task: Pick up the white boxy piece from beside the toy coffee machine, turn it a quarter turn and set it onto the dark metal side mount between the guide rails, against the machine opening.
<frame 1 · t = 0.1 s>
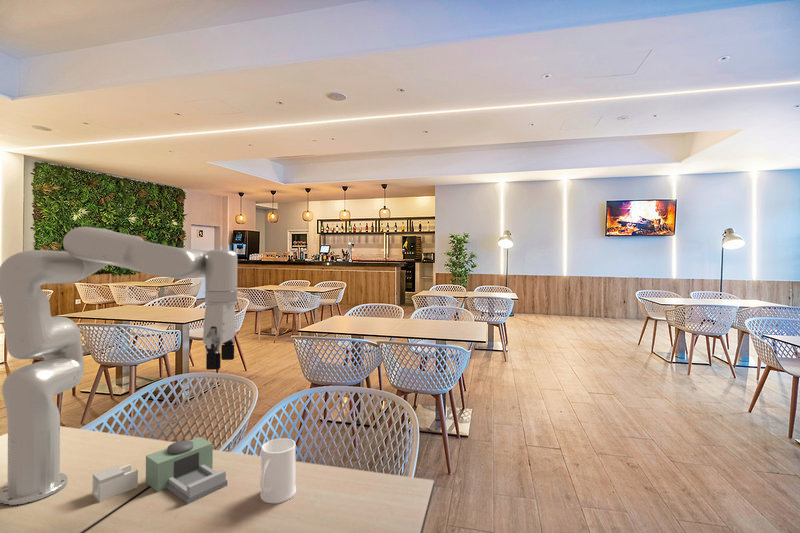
hand: (220, 364, 100), 31 cm above the table, tool pointing down, fingers open, 9 cm apart
toy coffee machine: (190, 482, 102), on the table
mug: (274, 497, 95), on the table
white boxy piece: (115, 491, 98), on the table
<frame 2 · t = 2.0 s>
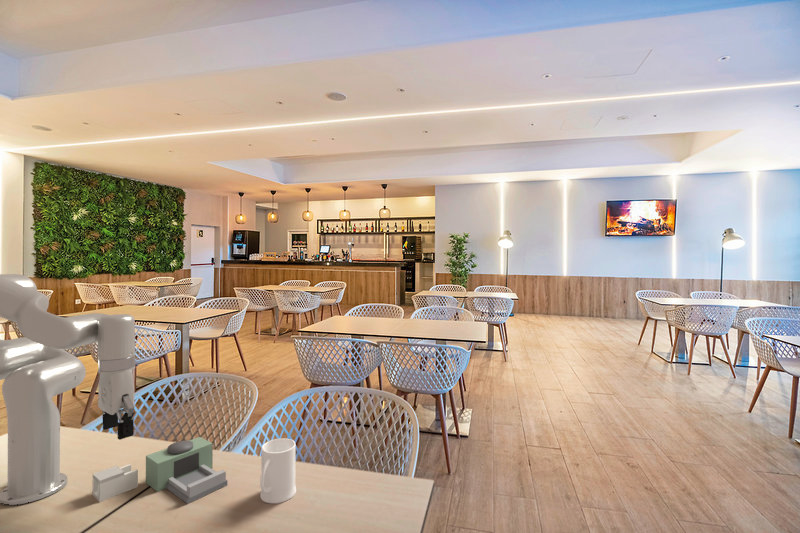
hand: (117, 432, 97), 15 cm above the table, tool pointing down, fingers open, 9 cm apart
nothing on the table moved.
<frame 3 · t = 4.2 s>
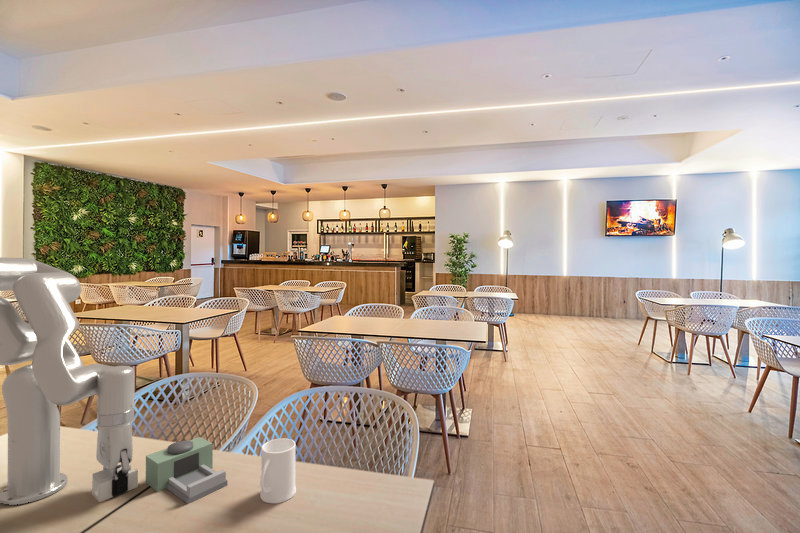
hand: (115, 488, 97), 0 cm above the table, tool pointing down, fingers closed on white boxy piece, 5 cm apart
white boxy piece: (115, 490, 97), on the table, touching gripper
everything else where it was.
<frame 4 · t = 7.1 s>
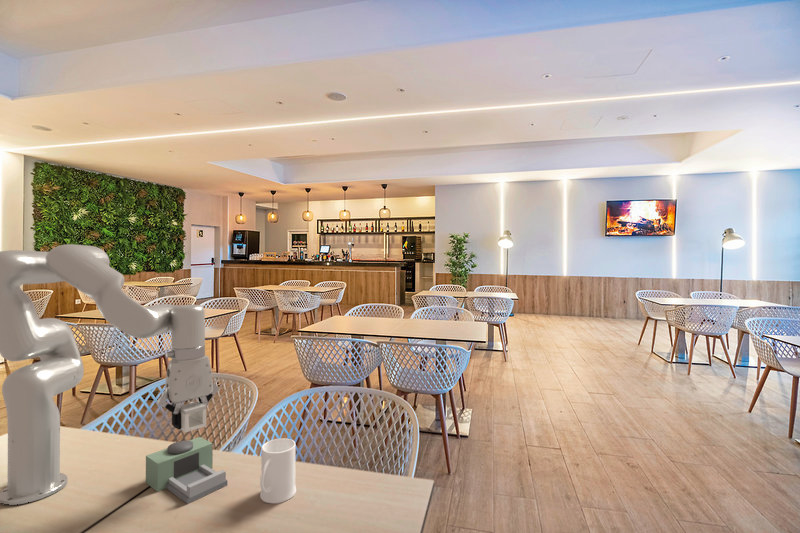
hand: (189, 423, 100), 16 cm above the table, tool pointing down, fingers closed on white boxy piece, 4 cm apart
white boxy piece: (189, 425, 100), point 16 cm above the table, touching gripper
everything else where it was.
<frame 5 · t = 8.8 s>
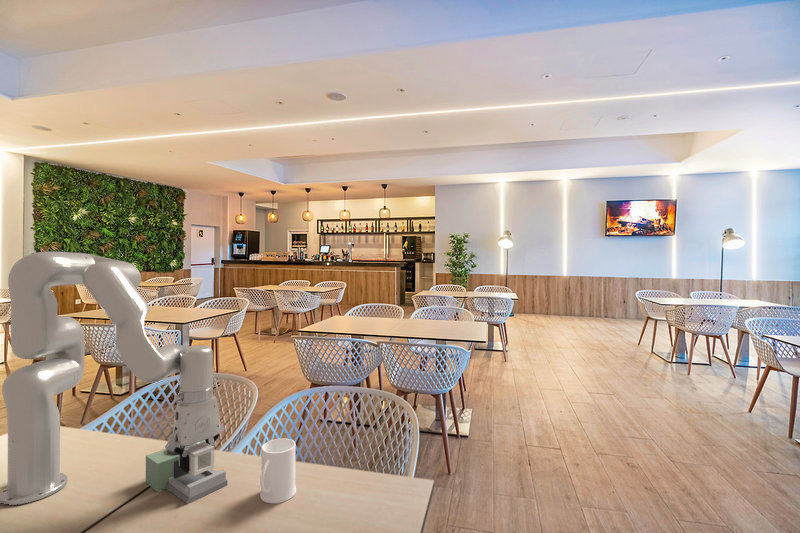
hand: (196, 464, 100), 5 cm above the table, tool pointing down, fingers closed on white boxy piece, 4 cm apart
white boxy piece: (196, 466, 100), point 5 cm above the table, touching gripper
everything else where it was.
when the fingers open (3 cm above the table, at t = 10.0 s): white boxy piece drops 1 cm, resting on toy coffee machine.
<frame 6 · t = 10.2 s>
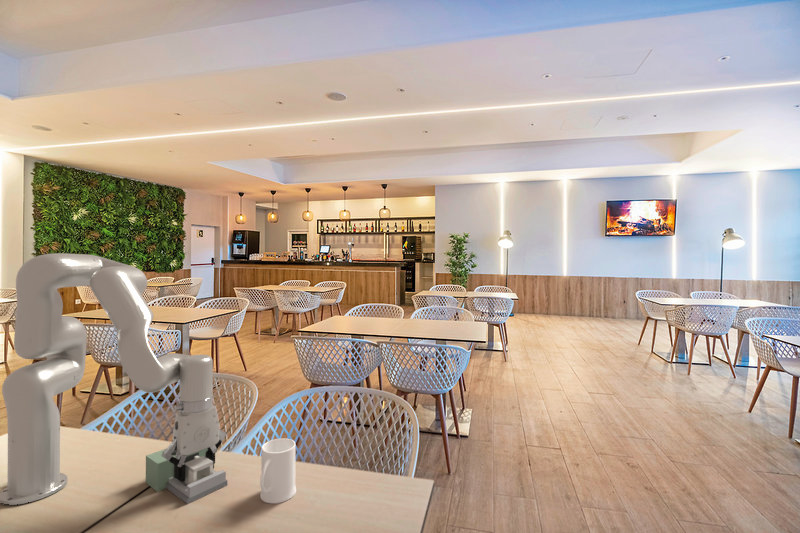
hand: (195, 473, 100), 3 cm above the table, tool pointing down, fingers open, 6 cm apart
white boxy piece: (195, 480, 100), point 1 cm above the table, touching toy coffee machine
everything else where it was.
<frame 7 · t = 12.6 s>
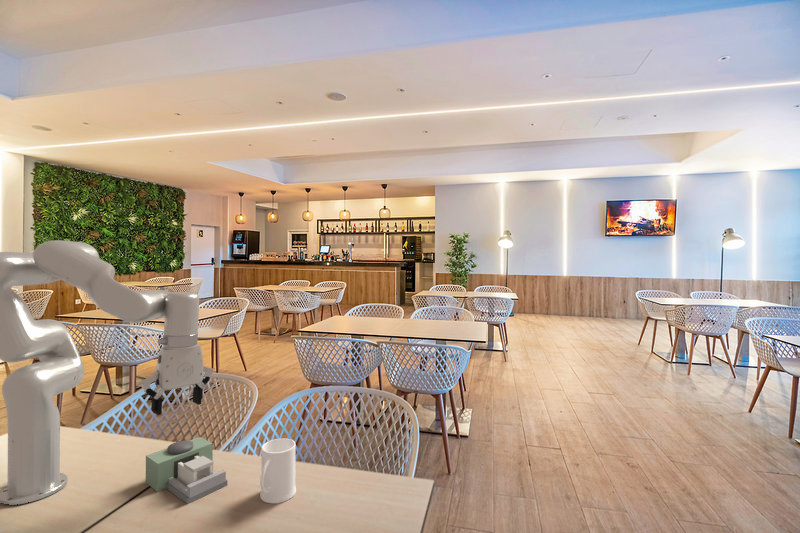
hand: (177, 408, 99), 20 cm above the table, tool pointing down, fingers open, 9 cm apart
nothing on the table moved.
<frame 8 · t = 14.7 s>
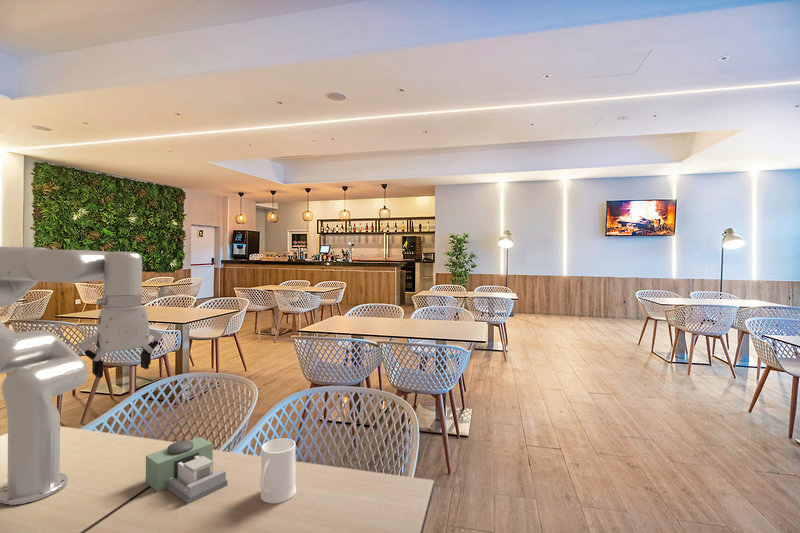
hand: (122, 372, 95), 30 cm above the table, tool pointing down, fingers open, 9 cm apart
nothing on the table moved.
at the end: white boxy piece 0.0 cm from the target spot on the toy coffee machine, point 1.2 cm above the toy coffee machine's base; white boxy piece tilted 0°; the gripper is holding nothing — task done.
